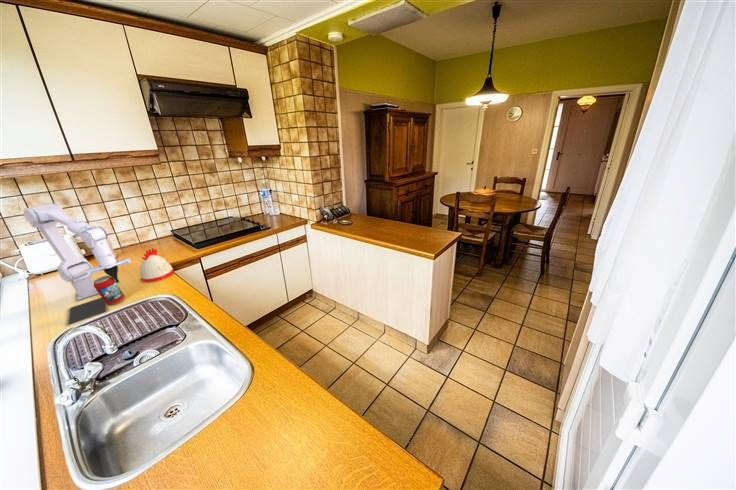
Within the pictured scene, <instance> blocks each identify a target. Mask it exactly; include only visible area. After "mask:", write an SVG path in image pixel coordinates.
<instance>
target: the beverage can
mask: <svg viewBox="0 0 736 490" xmlns="http://www.w3.org/2000/svg"><path fill="white" fill-rule="evenodd" d="M94 287H95V289H96V290H97V292H98V293H99V296H100V298H102V299H103V300H104V301H105V305H115V304H117V303H120V302H122V301H123V300H124V298H125V294H124V292H123V291H122V289H121V287H120V286H119V284H118V283H116V281H115V280H114V279H113V278H112V277H111V276H109V275H103V276H101V277H98V278H96V279H94Z"/></svg>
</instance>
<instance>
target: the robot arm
mask: <svg viewBox="0 0 736 490" xmlns="http://www.w3.org/2000/svg"><path fill="white" fill-rule="evenodd" d="M23 217H24V218H25V219H26V220H27V222H28V223H29V225H30V226H31V227H32V228H35V229H38V230H39V231H40V233H41V234H42V235H43V237H44V238H45V239H46V241H47V243H48V244H49V245H50V246H51V248H52V249H53V251H54V252H55V253H56V255H57V257H58V258H59V259H60V263H59V265H58V266H57V267H56V269H57V271H58V274H59V276H60V278H61V279H62V280H63V281H65V282H68V283H70V285H72V287H73V289H74V291H75V293H76V294H77V298H76V299H77V301H79V300H83V299H86V298H89V297H92V296H95V295H98V294H99V293H98V292H97V290H96V289H95V287H94V281H95V279H94V277H93V276H92V275H94V274H95V273H98V272H102V271H103V272H104V273H105V274H106V275H107V276H110V277H111V278H113V279H114V280H115V282H116V283H117V284H119V283H120V280H119V277H118V272H119V267H120V266H123V265H126V264H132V261H131V258H130V257H127V258H122V259H118V260H117V258H115V257H114V255H113V253H112V250H111V248H110V246H109V244H108V242H107V240H106V239H107V238H109V236H108V235H109V234H108V233H107V231H106V230H105V228H103V227H102V226H96V225H94V226H93V225H92V224H89V223H88V222H86V221H84V220H83V219H77V218H76V219H74V218H73V217H71V216H70V215H69V214H67V213H65V210H64V209H63V207H62V206H61V205H60V204H58V203H56V202H52V203H48V204H43V205H38V206H37V205H36V206H33V207H25V208H24V209H23ZM58 223H59V224H61V225H64V226H66V230H68V231H69V232H71V233H73V234H75V235H76V236H78V237H80V239H81V241H82V242H83V243H84V244H85V245H86V247H87V248H88V249H90V251H91V253H92V254H93V256H94V259H95V260H96V262H97V264H98V265H96V266H93V264H91V262H89V261H88V260H87V258H84V257H80V256H77V255H76V253H75V252H74V251H73V249H72V247H71V246H70V244H69V243H68V242H67V240H66V239H65V237H64V236H63V234H62V233H61V231H60V230H59V228H58V227H57V224H58ZM99 295H100V294H99Z"/></svg>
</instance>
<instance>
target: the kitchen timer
mask: <svg viewBox="0 0 736 490" xmlns="http://www.w3.org/2000/svg"><path fill="white" fill-rule="evenodd" d="M141 259H142V262H141V263H140V266H139V273H140V279H141V280H142V282H144V283H152V282H157V281H160V280H163V279H166V278H168V277H170V276H171V275H172V274H173V273H174V272H175V271H174V268H173V266H172V265H171V264H170V262H168V261H167V259H165V258H164V257H162V256H161V255H158V249H157V248H155V249H154V248H152V247H151V249H149V248H148V250H145V253H143V256H141Z"/></svg>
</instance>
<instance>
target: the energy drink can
mask: <svg viewBox="0 0 736 490" xmlns="http://www.w3.org/2000/svg"><path fill="white" fill-rule="evenodd" d="M106 240H107V242H108V244H109V246H110V248H111V250H112V253H113V255H114V257H115V259H117V254H116V252H115V250H114V247H113V245H112V243H111V241H110V238H109V237H107V239H106Z"/></svg>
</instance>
